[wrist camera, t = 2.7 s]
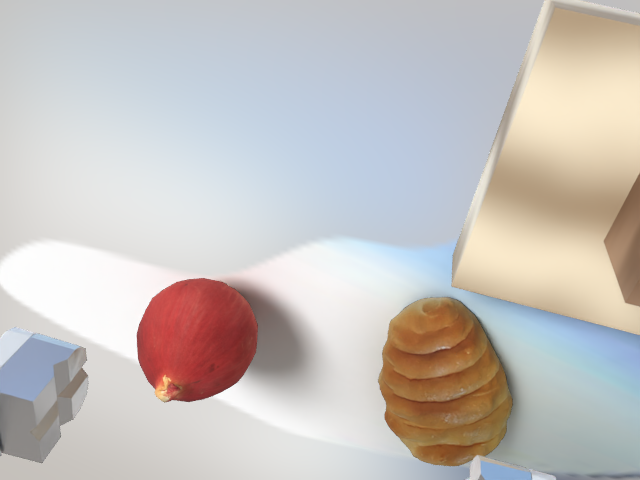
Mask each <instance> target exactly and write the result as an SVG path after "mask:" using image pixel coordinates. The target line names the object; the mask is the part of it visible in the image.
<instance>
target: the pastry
mask: <svg viewBox="0 0 640 480" xmlns="http://www.w3.org/2000/svg"><path fill="white" fill-rule="evenodd" d="M382 356H383V367H382V370H381V373H380V375H379V379H378V382H379V385H380V390H381V392H382V395H383V397H384V400H385V401H386V405H387V406H386V412H385V420H386V422H387V424H388V426H389V427H390V429H391V430H392V431H393V432H394V433H395V434H396V435H397V436H398V437H399V438H400V439H401V441H402V442H403V443H404V444H405V445H406V446H407V447H408V448H409V450H410V451H411V453H412V455H413V456H414V457H416V458H418V459H419V460H421V461H423V462H426V463H430V464H434V465H443V466H459V465H462V464H465V463H467V462H469V461H470V460H473V459H474V458H475V457H476V456H477V455H480V456H486V455H487V454H489V453H490V452H492V451H493V450H494V449H495V448H496V447H497V446H498V445H499V443H500V441H501V440H502V439H503V437H504V435H505V433H506V430H507V419H508V418H509V416H510V413H511V408H512V405H513V403H512V397H511V394H510V392H509V388H508V384H507V380H506V375H505V372H504V370H503V367H502V365H501V363H500V361H499V359H498V357H497V355H496V353H495V351H494V349H493V347H492V345H491V344H490V342H489V340H488V338H487V336H486V334H485V332H484V330H483V328H482V326H481V324H480V323H479V321H478V319H477V318H476V316H475V315H474V314H473V313H472V312H471V311H469V310H468V309H467V308H466V307H465V306H464V305H463V304H462V303H461V302H460V301H458V300H455V299H452V298H449V297H441V298H424V299H421V300H418V301H416V302H414V303H412V304H410V305H408V306H407V307H405V308H404V309H403V310H402V311H401V312H400V313H399V314H398V315H397V316H396V317H395V318H393V319H392V320H391V322H390V324H389V330H388V339H387V341H386V344H385V346H384V347H383V352H382Z"/></svg>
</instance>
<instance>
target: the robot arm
mask: <svg viewBox="0 0 640 480" xmlns="http://www.w3.org/2000/svg"><path fill="white" fill-rule="evenodd" d="M86 361H87V357H86V349H85V348H83V347H81V346H78V345H74V344H71V343H68V342H64V341H61V340H58V339H55V338H51V337H48V336H45V335H41V334H37V333H34V332H30V331H27V330H24V329H20V328H17V327H14V328H12V329H10V330H8V331H6V332H5V333H4V334H3V335H2V336H1V337H0V456H1V453H5V454H8V455H12V456H16V457H20V458H24V459H28V460H32V461H35V462H39V463H43V461H44V460H45V458H46V457H47V456H48V454H49V453H50V451H51V450H52V448H53V447H54V446H55V444H56V443H57V442H58V440H59V439H60V437H61V432H60V426H61V425H63V424H65V423H67V422H69V421H71V420H73V419H74V417H75V416H76V414H77V413H78V412H79V410H80V409H81V406H82V404H83V402H84V399H85V397H86V394H87V389H88V375H87V374H86V372H85V371H84V370H83V368H82V366H83V364H84V363H85V362H86ZM464 480H557V479H556V478H555V476H553V475H550V474H546V473H542V472H539V471H535V470H531V469H527V468H526V467H522V466H518V465H514V464H510V463H506V462H503V461H499V460H495V459H491V458H487V457H484V456H480V455H477V456H476V457H475V458H474V459H473V461H472V463H471V465H470V477H469V478H467V479H464Z"/></svg>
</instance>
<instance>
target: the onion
mask: <svg viewBox="0 0 640 480" xmlns="http://www.w3.org/2000/svg"><path fill="white" fill-rule="evenodd" d="M257 333H258V325H257V322H256V319H255V316H254V314H253V311H252V309H251V307H250V304H249V303H248V302H247V301H246V299H245V298H244V297H243V296H242V295H241V294H240V293H239V292H238V291H237V290H235V289H233V288H232V287H230V286H228V285H227V284H225V283H223V282H220V281H215V280H210V279H205V278H199V279H188V280H184V281H179V282H176V283H174V284H172V285H171V286H169V287H167V288H165V289H164V290H162V291H161V292H160V293H158V294H157V295H156V296H155V297H153V298H152V300H151V302H150V303H149V305H148V307H147V309H146V311H145V313H144V315H143V317H142V320H141V322H140V324H139V328H138V332H137V349H138V360H139V363H140V366H141V368H142V370H143V372H144V374H145V376H146V378H147V380H148V382H149V383H150V384H151V385H152V386H153V387H154V388H155V395H156V397H158V398H159V399H160V400H161V401H163V402H169V401H171V400H178V401H185V402H191V401H196V400H202V399H205V398H209V397H211V396H213V395H216V394H218V393H220V392H222V391H224V390H226V389H228V388H230V387H231V386H233V385H234V384H236V383H237V382H238V381H239V380H240V379H241V378H242V376H243V375H244V373H245V372H246V370H247V368H248V367H249V365H250V363H251V361H252V359H253V357H254V355H255V353H256V347H257Z"/></svg>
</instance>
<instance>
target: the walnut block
mask: <svg viewBox="0 0 640 480" xmlns="http://www.w3.org/2000/svg"><path fill="white" fill-rule="evenodd" d="M604 244H605V247H606V250H607V253H608V255H609V258H610V261H611V264H612V267H613V270H614V272H615V275H616V278H617V281H618V284H619V287H620V290H621V292H622V295H623V298H624V301H625V303H627V304H631V305H635V306H639V307H640V173H639V175H638V177H637V179H636V181H635V182H634V184H633V186H632V188H631V190H630V192H629V194H628V196H627V198H626V200H625V201H624V203H623V205H622V207H621V209H620V211H619V213H618V215H617V217H616V218H615V220H614V222H613V224H612V226H611V228H610V230H609V232H608V234H607V236H606V237H605V239H604Z"/></svg>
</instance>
